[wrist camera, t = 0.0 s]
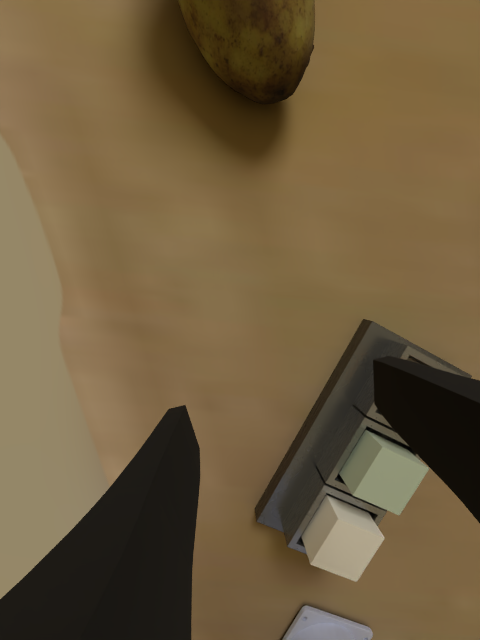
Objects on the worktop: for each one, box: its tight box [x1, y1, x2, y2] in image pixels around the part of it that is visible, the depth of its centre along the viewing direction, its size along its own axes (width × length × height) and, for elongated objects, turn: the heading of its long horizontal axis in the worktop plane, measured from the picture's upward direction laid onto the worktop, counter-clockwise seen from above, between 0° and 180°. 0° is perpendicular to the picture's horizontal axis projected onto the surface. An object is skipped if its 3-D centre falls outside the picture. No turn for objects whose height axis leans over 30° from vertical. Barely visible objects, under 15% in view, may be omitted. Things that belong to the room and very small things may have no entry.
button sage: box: [339, 430, 429, 515], centre depth 18 cm, size 4×4×2 cm
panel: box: [255, 319, 472, 554], centre depth 20 cm, size 19×10×3 cm, turn 153°
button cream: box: [301, 495, 385, 582], centre depth 19 cm, size 4×4×2 cm
